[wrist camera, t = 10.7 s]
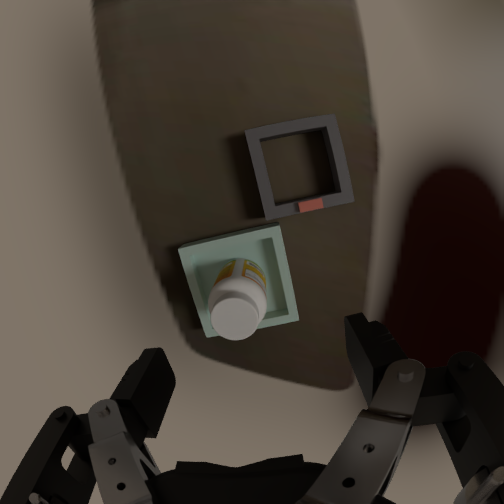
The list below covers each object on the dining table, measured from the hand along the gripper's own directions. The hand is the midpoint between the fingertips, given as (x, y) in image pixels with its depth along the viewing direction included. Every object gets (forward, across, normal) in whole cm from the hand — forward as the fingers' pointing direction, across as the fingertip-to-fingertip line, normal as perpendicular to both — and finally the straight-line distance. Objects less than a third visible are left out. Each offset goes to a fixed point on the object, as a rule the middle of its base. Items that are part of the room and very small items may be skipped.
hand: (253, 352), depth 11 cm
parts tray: (+21, +3, +4) cm, 22 cm away
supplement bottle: (+20, +3, +4) cm, 21 cm away
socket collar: (+21, -6, -7) cm, 23 cm away
